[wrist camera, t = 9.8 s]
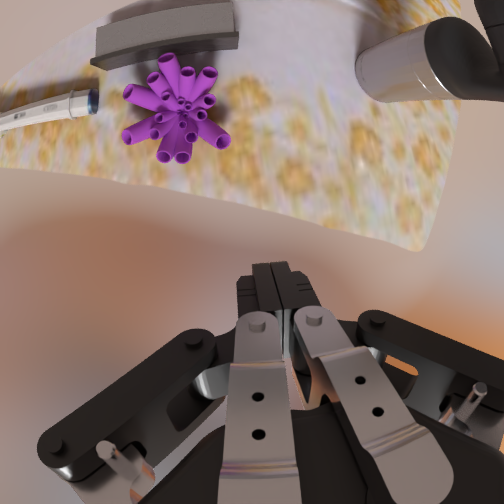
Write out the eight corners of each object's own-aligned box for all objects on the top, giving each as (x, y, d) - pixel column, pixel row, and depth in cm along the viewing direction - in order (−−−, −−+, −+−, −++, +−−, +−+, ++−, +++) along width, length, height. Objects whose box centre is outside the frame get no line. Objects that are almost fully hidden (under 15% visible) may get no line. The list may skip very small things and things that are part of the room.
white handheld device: (89, 118, 30) (-33, 147, 24) (103, 119, 36) (-12, 143, 30) (91, 81, 28) (-32, 117, 22) (104, 87, 34) (-11, 115, 28)
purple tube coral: (177, 160, 40) (125, 173, 33) (169, 67, 34) (114, 65, 27) (238, 157, 34) (183, 170, 27) (229, 46, 28) (172, 33, 21)
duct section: (235, 15, 29) (236, 0, 24) (237, 49, 31) (238, 36, 26) (107, 38, 28) (91, 28, 23) (106, 70, 30) (90, 64, 25)
